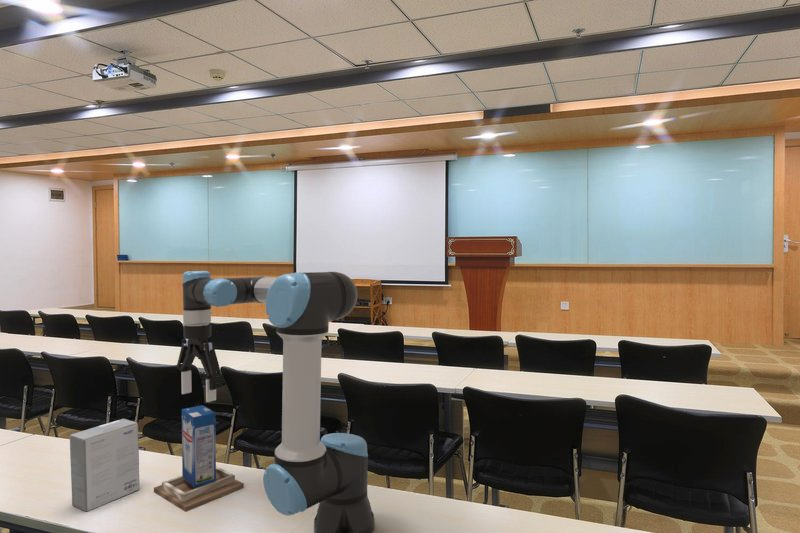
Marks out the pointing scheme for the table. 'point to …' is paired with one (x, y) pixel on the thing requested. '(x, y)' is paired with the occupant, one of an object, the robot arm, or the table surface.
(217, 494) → the walnut board
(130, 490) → the hard drive box
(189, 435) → the milk carton
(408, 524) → the table surface
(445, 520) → the table surface
